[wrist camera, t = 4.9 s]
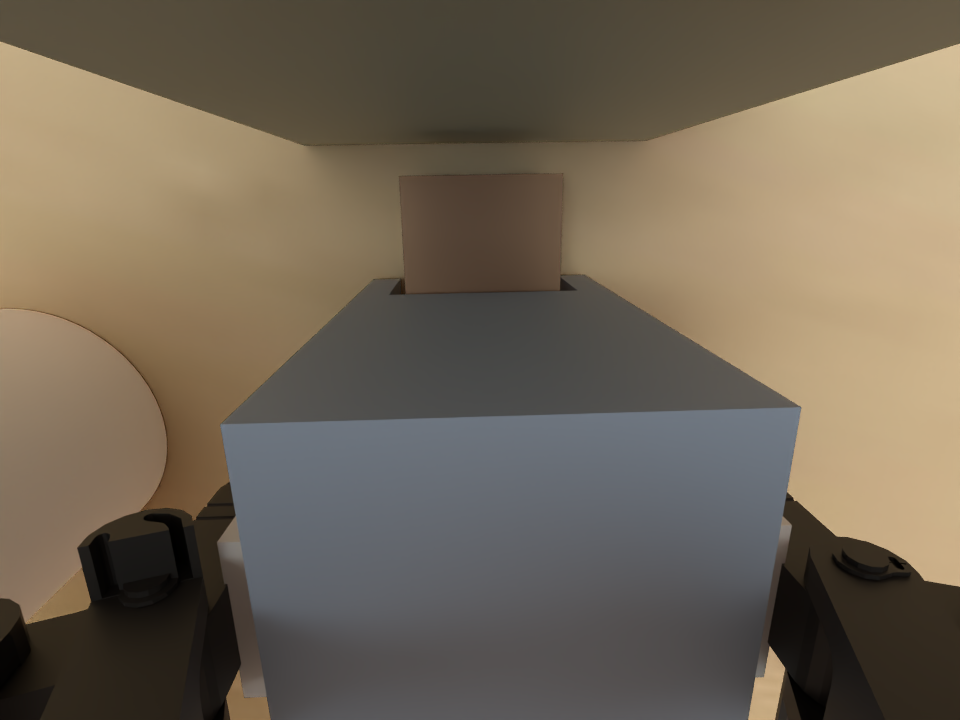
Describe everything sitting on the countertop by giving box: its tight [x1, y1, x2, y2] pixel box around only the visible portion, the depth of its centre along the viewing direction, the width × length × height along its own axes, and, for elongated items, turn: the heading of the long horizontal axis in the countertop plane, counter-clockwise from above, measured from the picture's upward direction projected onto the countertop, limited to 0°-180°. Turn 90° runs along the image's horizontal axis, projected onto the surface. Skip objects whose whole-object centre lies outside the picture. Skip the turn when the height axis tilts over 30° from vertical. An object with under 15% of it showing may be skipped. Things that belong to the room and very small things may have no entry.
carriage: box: [220, 275, 801, 720], centre depth 12 cm, size 6×7×11 cm
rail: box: [399, 173, 563, 294], centre depth 16 cm, size 5×21×5 cm, turn 1°
